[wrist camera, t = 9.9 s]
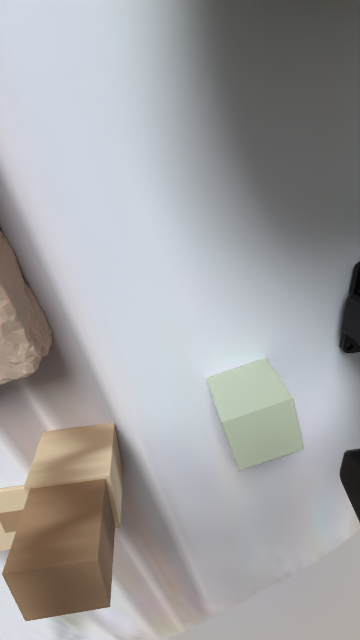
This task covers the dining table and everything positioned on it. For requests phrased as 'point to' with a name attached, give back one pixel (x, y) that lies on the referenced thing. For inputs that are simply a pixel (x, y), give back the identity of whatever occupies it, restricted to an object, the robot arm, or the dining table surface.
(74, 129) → the dining table surface
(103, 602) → the walnut block
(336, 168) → the dining table surface
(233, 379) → the block
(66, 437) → the oak block
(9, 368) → the brown rock
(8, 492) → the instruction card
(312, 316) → the dining table surface
